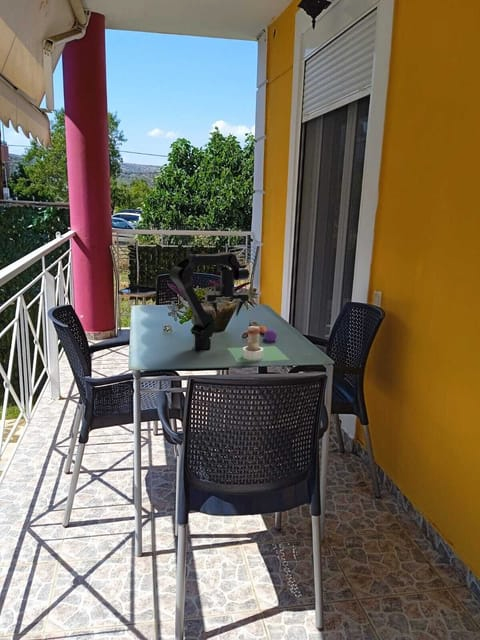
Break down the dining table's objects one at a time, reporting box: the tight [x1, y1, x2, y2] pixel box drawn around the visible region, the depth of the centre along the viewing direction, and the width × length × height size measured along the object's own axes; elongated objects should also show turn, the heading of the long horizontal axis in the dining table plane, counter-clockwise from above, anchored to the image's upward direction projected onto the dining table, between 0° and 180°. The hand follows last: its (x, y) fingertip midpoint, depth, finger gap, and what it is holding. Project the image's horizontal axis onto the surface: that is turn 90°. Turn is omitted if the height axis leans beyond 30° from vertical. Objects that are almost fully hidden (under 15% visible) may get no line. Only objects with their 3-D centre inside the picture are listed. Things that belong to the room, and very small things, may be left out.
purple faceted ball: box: [259, 325, 278, 343], centre depth 223 cm, size 6×6×20 cm
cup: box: [242, 345, 264, 360], centre depth 192 cm, size 8×8×4 cm
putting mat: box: [227, 345, 291, 363], centre depth 196 cm, size 22×19×1 cm
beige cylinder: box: [247, 325, 261, 351], centre depth 191 cm, size 4×4×12 cm
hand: (226, 316), depth 207 cm, fingers open, 9 cm apart
